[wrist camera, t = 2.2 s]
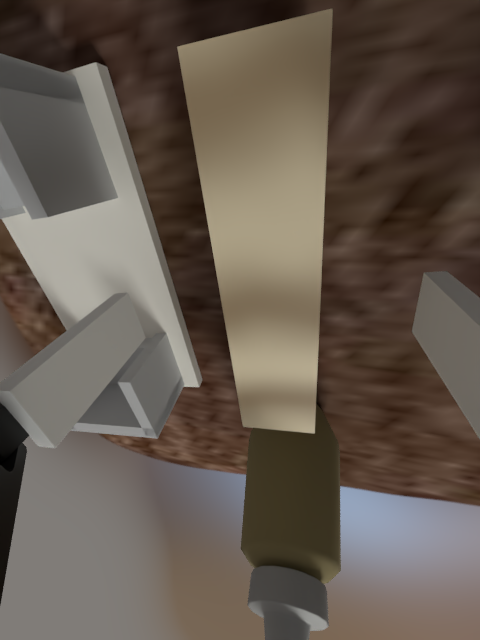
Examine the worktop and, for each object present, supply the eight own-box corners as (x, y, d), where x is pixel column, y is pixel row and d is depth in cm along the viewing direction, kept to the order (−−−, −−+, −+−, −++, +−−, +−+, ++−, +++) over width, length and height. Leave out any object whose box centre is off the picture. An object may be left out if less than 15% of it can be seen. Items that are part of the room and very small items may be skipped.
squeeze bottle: (241, 393, 27) (168, 687, 12) (320, 378, 24) (348, 745, 9) (272, 442, 31) (244, 719, 16) (345, 434, 28) (395, 771, 13)
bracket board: (-45, 112, 18) (-208, 96, 12) (107, 66, 15) (-15, 17, 9) (102, 376, 30) (55, 431, 25) (202, 379, 27) (175, 442, 22)
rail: (233, 91, 15) (177, 46, 8) (318, 75, 14) (332, 8, 7) (259, 350, 24) (242, 426, 17) (311, 351, 23) (314, 433, 16)
